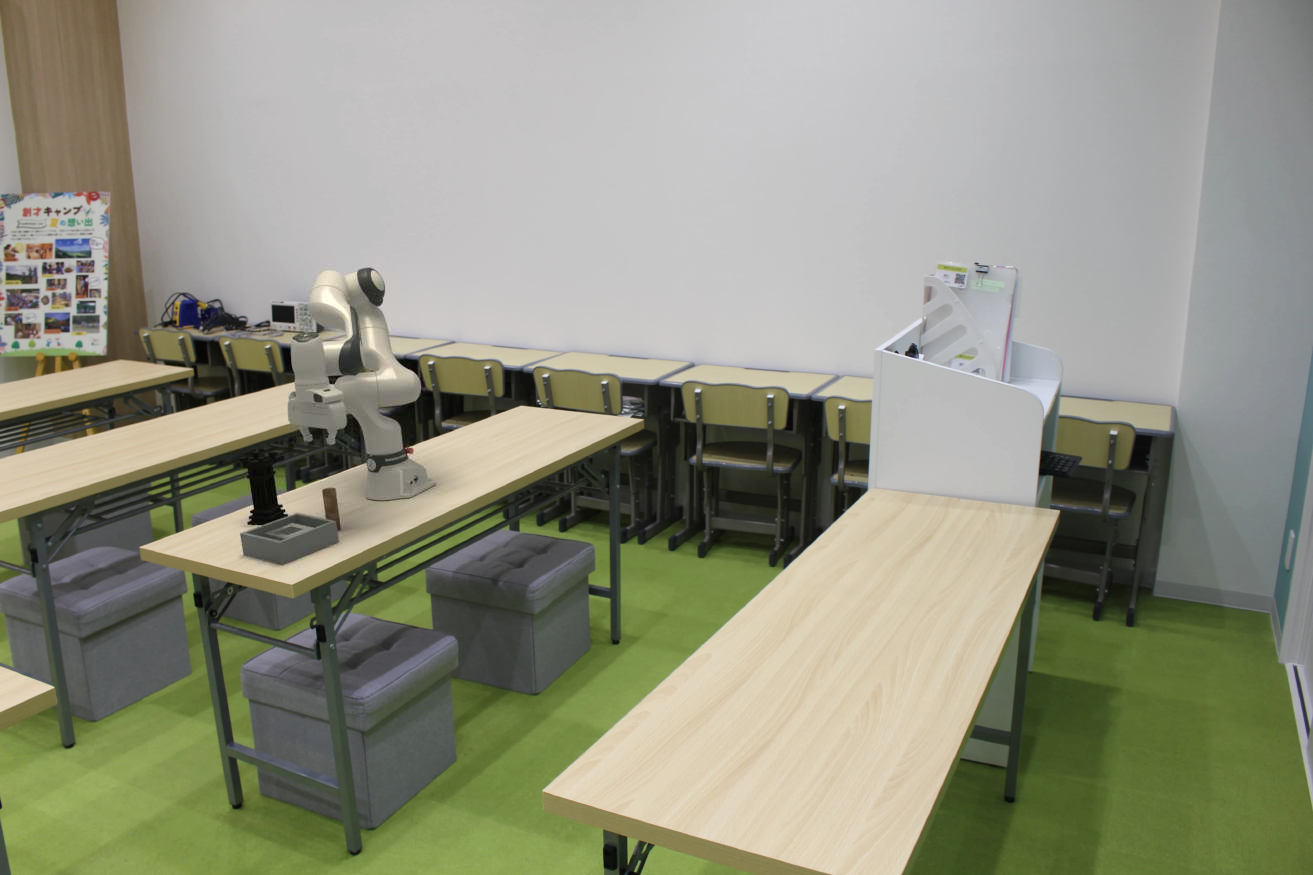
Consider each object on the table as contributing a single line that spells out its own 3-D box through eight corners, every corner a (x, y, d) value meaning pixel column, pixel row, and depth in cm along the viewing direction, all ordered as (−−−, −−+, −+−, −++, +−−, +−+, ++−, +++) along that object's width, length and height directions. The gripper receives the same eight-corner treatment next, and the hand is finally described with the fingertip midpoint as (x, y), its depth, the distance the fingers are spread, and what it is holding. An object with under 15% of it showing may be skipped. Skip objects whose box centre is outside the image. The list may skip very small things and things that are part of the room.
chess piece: (272, 525, 270) (262, 458, 265) (247, 524, 271) (237, 458, 266) (288, 516, 277) (278, 451, 272) (264, 515, 279) (254, 450, 274)
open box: (300, 533, 263) (297, 512, 261) (338, 541, 254) (336, 521, 253) (243, 554, 248) (240, 533, 246) (282, 564, 240) (279, 542, 238)
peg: (335, 527, 266) (329, 486, 263) (343, 529, 264) (338, 488, 261) (324, 531, 263) (319, 490, 260) (333, 533, 261) (327, 492, 258)
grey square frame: (294, 536, 257) (292, 522, 256) (316, 541, 252) (314, 527, 251) (266, 547, 249) (263, 533, 248) (288, 553, 245) (285, 538, 244)
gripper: (278, 393, 257) (285, 441, 261) (328, 397, 247) (335, 448, 250) (298, 389, 263) (304, 437, 266) (347, 393, 252) (353, 443, 255)
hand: (319, 442), depth 258 cm, fingers open, 8 cm apart
